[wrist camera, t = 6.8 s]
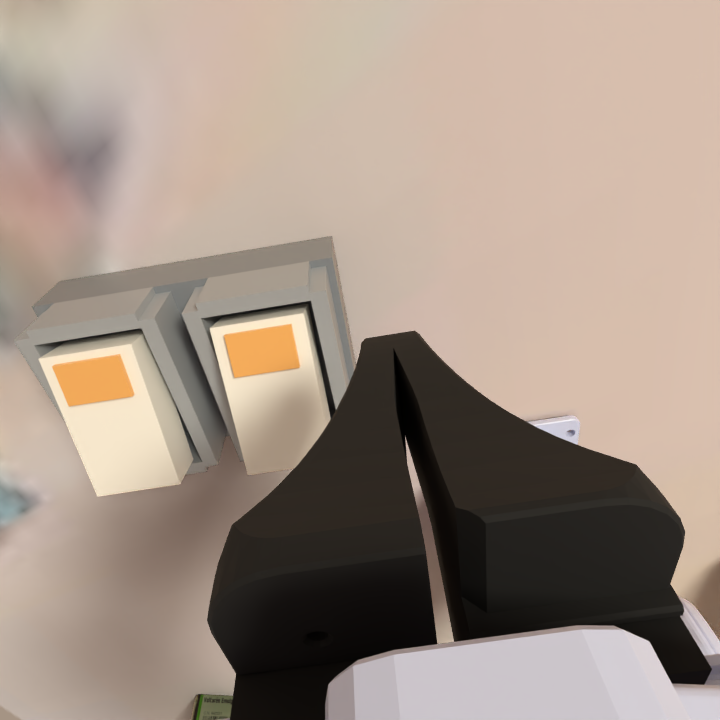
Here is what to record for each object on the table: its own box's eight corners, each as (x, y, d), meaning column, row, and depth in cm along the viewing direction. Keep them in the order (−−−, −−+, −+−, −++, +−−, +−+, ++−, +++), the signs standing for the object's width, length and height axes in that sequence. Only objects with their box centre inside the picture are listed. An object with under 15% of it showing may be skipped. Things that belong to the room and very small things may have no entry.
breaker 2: (335, 441, 21) (333, 465, 19) (256, 453, 21) (246, 478, 19) (308, 303, 19) (303, 314, 17) (222, 317, 19) (208, 329, 17)
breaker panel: (360, 385, 25) (365, 447, 22) (133, 420, 26) (99, 487, 22) (332, 236, 21) (332, 281, 17) (59, 281, 21) (0, 335, 18)
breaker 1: (193, 459, 21) (178, 487, 19) (116, 470, 21) (95, 499, 20) (150, 328, 19) (128, 345, 17) (65, 342, 19) (34, 360, 17)
